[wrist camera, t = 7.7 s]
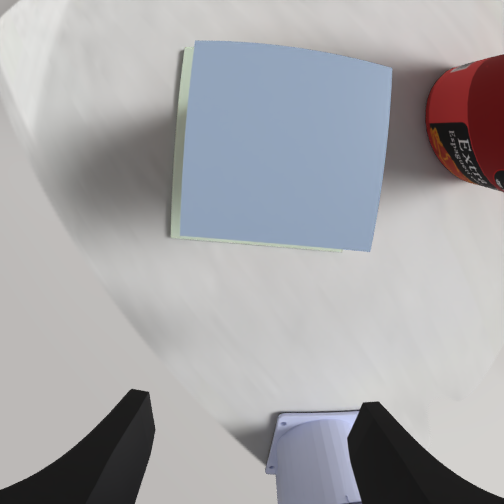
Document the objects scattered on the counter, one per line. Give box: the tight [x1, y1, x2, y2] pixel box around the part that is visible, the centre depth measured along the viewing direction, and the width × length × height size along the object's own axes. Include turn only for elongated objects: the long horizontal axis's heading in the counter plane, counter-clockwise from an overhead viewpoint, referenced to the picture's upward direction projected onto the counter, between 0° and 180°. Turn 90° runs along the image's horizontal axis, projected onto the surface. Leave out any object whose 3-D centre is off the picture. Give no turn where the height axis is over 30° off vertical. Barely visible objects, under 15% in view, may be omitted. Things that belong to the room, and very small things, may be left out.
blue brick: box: [180, 41, 392, 252], centre depth 10 cm, size 5×5×5 cm
